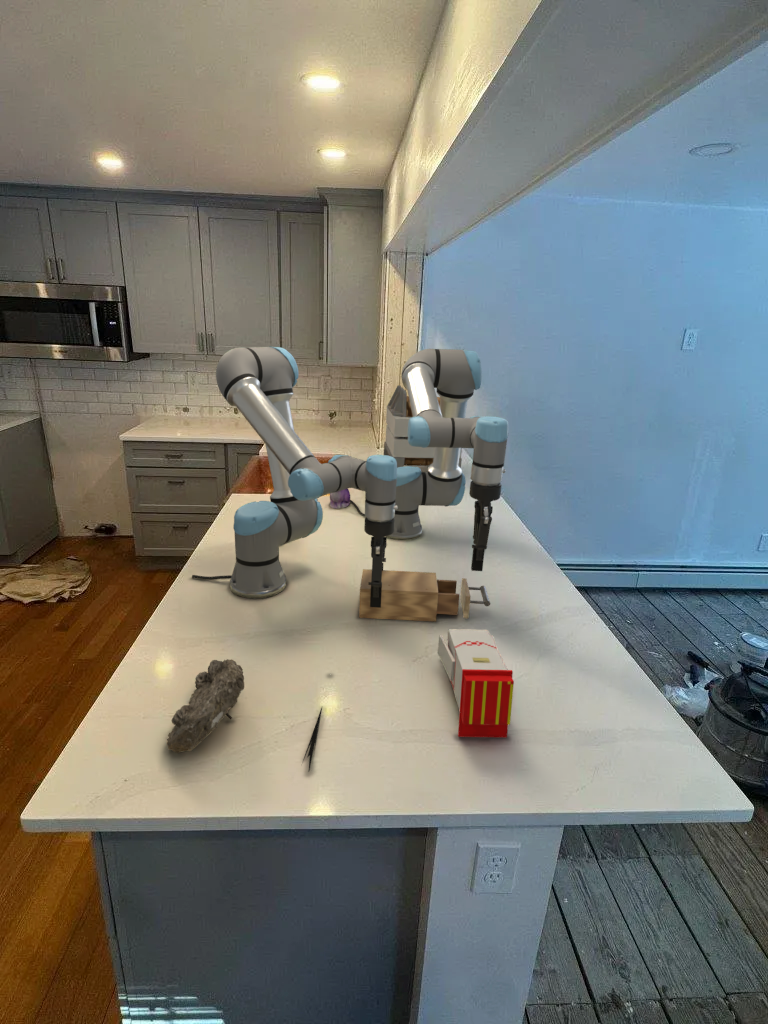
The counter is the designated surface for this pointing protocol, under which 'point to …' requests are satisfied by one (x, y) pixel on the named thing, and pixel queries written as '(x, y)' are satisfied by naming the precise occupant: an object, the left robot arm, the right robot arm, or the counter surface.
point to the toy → (478, 682)
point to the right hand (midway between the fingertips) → (476, 569)
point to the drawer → (457, 597)
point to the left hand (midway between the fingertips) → (376, 595)
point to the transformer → (404, 433)
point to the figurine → (340, 499)
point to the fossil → (206, 705)
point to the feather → (313, 740)
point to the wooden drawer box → (401, 596)
